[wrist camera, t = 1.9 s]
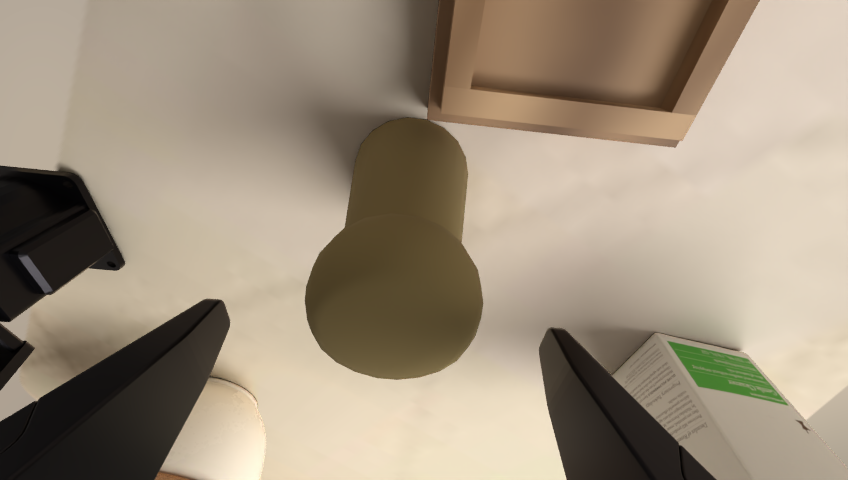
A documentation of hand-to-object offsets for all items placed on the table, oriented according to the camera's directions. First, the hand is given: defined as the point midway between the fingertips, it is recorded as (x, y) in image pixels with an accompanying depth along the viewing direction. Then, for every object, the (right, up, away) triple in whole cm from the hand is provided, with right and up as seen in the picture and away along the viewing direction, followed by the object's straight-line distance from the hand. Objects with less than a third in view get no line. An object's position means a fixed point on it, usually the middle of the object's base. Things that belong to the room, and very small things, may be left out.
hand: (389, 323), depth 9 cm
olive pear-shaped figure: (0, +6, +9) cm, 10 cm away
